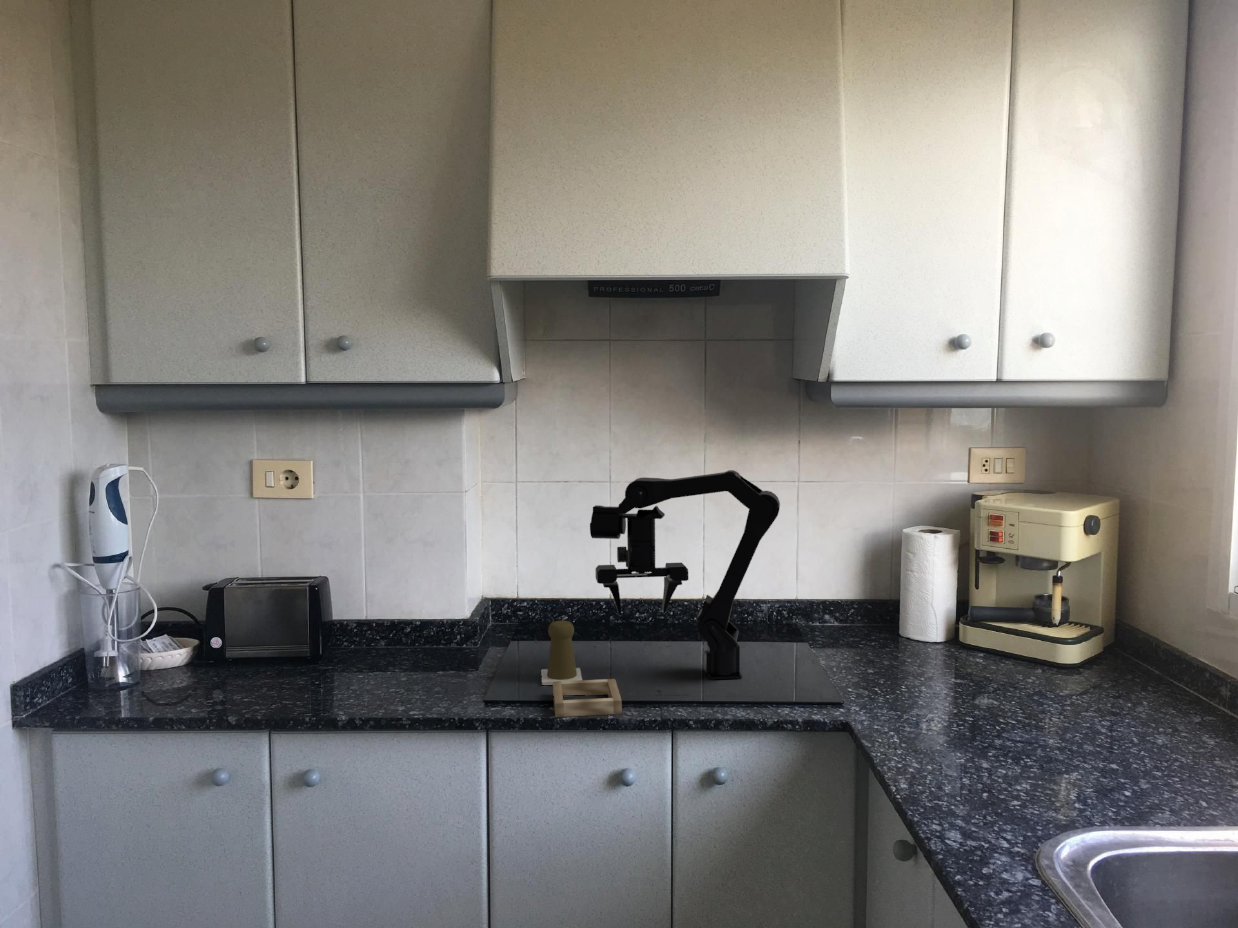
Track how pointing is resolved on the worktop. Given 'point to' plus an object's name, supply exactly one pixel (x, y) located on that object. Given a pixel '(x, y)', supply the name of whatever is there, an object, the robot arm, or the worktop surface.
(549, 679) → the cream tile
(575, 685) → the oak collar
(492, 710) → the worktop surface
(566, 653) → the olive knobbed peg
